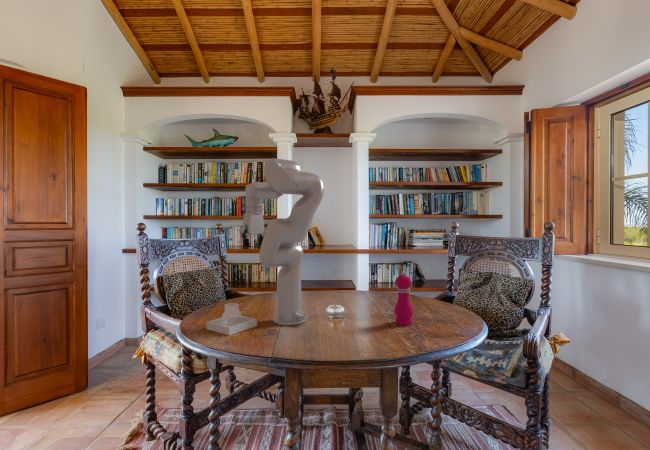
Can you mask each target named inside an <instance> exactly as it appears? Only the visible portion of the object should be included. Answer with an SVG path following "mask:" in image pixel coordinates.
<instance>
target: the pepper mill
mask: <svg viewBox="0 0 650 450" xmlns="http://www.w3.org/2000/svg"><path fill="white" fill-rule="evenodd" d="M412 284H413V283H412V279H411V277H410V276H408V275H407V273H406V271H404V270H403V271H401V272H400V275H398V276H397V277H396V279H395V285H396V287H397V288H396V291H397V293H398V294H397V295H398V297H397V298H398V299H397V302H396V304H395V306H394V309H393V310H394V311H393V313H394V315H395V316H396V317H395V324H397V325H399V326H410V325H412V324H413V318H412V317H413V315H414V308H413V305H412V303H411V301H410V293H411V288H410V287H411V286H412Z"/></svg>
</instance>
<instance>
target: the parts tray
mask: <svg viewBox="0 0 650 450" xmlns="http://www.w3.org/2000/svg"><path fill="white" fill-rule="evenodd" d="M236 318H237V319H236V322H237V323H236V325H233V326H230V327H229V326H228V324H227V322H228V321H227V319H228V318H225V317H219V318H215V319H212V320H208V321H206V322H205V330H207V331H208V330H209V331H211V332H216V333H220V334H222V335H227V336H232V335H234V334H237V333H240V332H243V331H246V330H248V329H253V328H255V327H257V326H258V321H257V320H258V318H257V319H256V318H254V317H253V318H252V317H248V316H243V315H240V316H239V317H236Z"/></svg>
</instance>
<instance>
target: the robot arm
mask: <svg viewBox="0 0 650 450" xmlns="http://www.w3.org/2000/svg"><path fill="white" fill-rule="evenodd" d="M263 175H264V178H265V179H266V182H263V181H262V182H260V181H253V182H251V183H248V184H246V186H245V212H244V214H243V218H242V227H240V228H239V229H238V232H239V234H240V236H241V238H242V239H243V248H250V239H249V238H250V237H251V235H258V246H259V249H260V250H259V253H258V254H259V255H258V258H259V263H260V264H261V266H263V267H265V268H279V267H280V270H279V271H278V273H277V277H276V292H277V293H276V298H277V299H276V306H277V309H276V311H277V313H276V316H275V317H273V320H272V321H273V323H274V324H276V325H279V326H295V325H300V324H303V323H305V322H306V321H307V320H308V318H309V314H306V313H304V310H305V309H302V265H303V260H304V249H303V246H302V245H301V244H300V243H302V242H304V241H305V240H306V237H307V235H308V233H309V230H310V228H311V224H312V222H313V219H314V215H315V213H316V211H317V209H318V208H319V206H320V205H321V201H322V200H323V197H324V188H325V187H324V186H325V185H324V182H323V180H322V178H321V177H320V176H319V175H318V174H315V173H312V172H308V171H302V168H301V166H300V165H299V163H298V162H296V161H294V160H289V159H282V158H270V159H268V160H267V161H266V162H265V164H264V165H263ZM284 195H296V196H298V195H299V196H302V197H300V198H299V199H298V200H297V201H296V202H295V203H294V204H293V206H292V208H291V211H290V213H289V216H288V217H287V218H285V217H284V218H274V219H272V220H270V221H269V223H268V224H267V225H266V226H265V220H264V214H263V211H264V210H263V200H276V199H278V198H280V197H282V196H284Z"/></svg>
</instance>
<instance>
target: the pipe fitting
mask: <svg viewBox="0 0 650 450" xmlns="http://www.w3.org/2000/svg"><path fill="white" fill-rule="evenodd" d="M242 313H243V312H242V311H240V304H239V303H238V302H232V303H226V304H224V312H223V313H222V314H221V318H223V317H225V318H228V319H227V321H228V322H227V324H228V326H229V327H230V326H233V325H236V323H237V322H236V319H237V318H236V317H239V316H242Z"/></svg>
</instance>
